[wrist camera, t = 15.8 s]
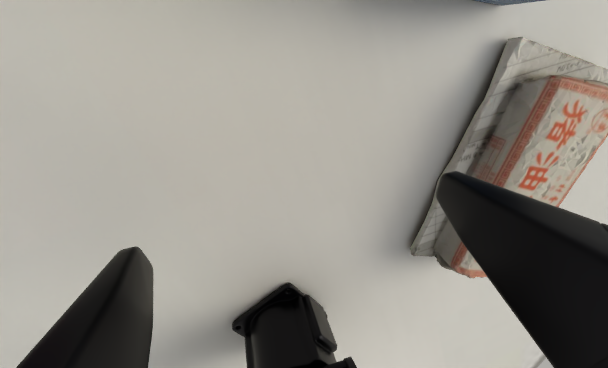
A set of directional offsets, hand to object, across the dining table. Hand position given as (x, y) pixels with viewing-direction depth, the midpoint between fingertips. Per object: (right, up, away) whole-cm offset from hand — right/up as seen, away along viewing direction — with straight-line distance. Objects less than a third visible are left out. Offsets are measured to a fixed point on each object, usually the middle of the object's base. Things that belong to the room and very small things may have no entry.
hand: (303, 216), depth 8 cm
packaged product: (+16, +3, +16) cm, 23 cm away
